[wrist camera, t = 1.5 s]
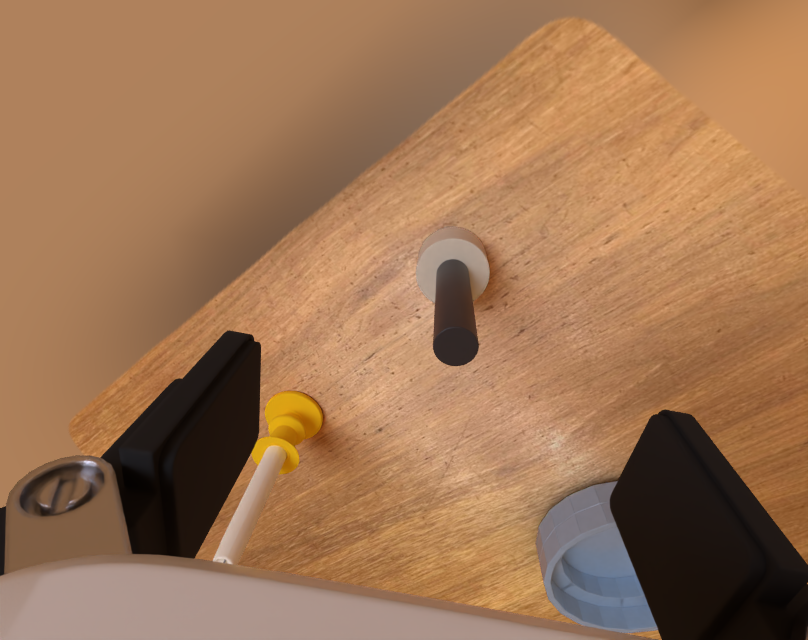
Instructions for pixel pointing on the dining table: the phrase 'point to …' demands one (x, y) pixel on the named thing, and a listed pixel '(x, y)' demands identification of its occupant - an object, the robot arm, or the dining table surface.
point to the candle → (270, 465)
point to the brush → (453, 290)
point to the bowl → (591, 564)
